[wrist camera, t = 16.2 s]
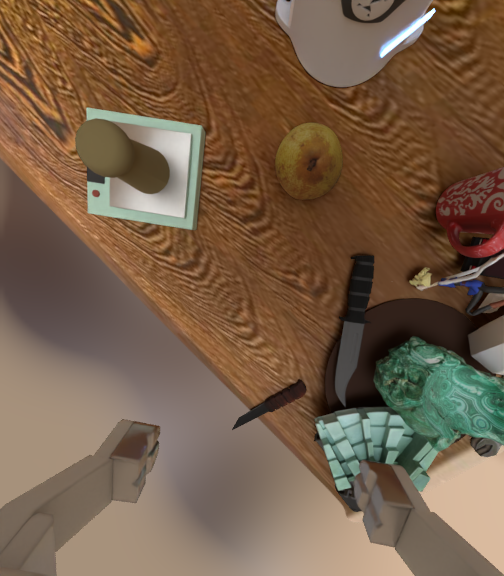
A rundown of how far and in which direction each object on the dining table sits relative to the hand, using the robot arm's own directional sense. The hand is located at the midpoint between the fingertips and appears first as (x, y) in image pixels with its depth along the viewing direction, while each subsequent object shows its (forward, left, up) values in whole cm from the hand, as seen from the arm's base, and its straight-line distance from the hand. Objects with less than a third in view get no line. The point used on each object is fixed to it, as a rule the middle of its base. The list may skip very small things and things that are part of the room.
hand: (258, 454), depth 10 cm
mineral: (+11, +29, -28) cm, 42 cm away
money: (+22, +24, -27) cm, 43 cm away
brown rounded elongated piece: (-14, -18, -28) cm, 36 cm away
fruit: (-18, +3, -32) cm, 36 cm away
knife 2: (+5, +13, -29) cm, 32 cm away
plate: (+12, +27, -31) cm, 43 cm away
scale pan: (-14, -18, -28) cm, 36 cm away
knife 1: (+22, +4, -31) cm, 38 cm away
